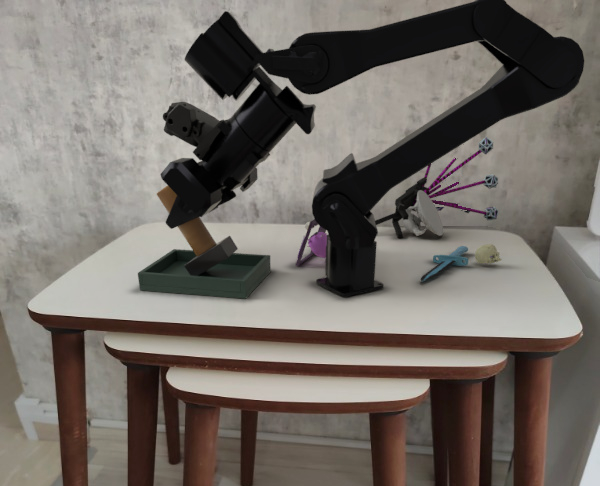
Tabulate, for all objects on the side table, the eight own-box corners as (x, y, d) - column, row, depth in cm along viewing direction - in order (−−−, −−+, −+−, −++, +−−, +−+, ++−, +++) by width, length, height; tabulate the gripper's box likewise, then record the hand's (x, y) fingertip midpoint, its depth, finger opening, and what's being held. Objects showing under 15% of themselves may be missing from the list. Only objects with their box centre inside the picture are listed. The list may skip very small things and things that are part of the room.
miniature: (426, 188, 101) (401, 203, 103) (413, 192, 94) (387, 207, 97) (447, 231, 102) (422, 245, 105) (436, 238, 95) (409, 252, 98)
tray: (270, 271, 84) (270, 255, 83) (246, 299, 74) (245, 280, 73) (175, 264, 87) (173, 248, 85) (139, 290, 77) (137, 272, 76)
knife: (403, 284, 79) (439, 289, 77) (403, 275, 79) (440, 279, 76) (448, 251, 92) (481, 254, 89) (448, 243, 91) (481, 246, 89)
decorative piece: (344, 266, 105) (448, 209, 120) (405, 276, 96) (511, 213, 110) (328, 181, 98) (442, 132, 113) (394, 182, 88) (509, 128, 103)
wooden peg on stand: (238, 248, 79) (190, 172, 76) (228, 257, 76) (177, 177, 72) (203, 269, 82) (155, 196, 78) (192, 278, 79) (142, 202, 75)
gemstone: (469, 260, 87) (472, 240, 86) (497, 261, 87) (501, 240, 85) (472, 267, 84) (475, 246, 83) (502, 267, 84) (505, 246, 83)
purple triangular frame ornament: (327, 206, 89) (305, 219, 82) (358, 220, 88) (339, 235, 81) (312, 247, 93) (290, 263, 86) (342, 261, 92) (323, 279, 85)
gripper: (230, 73, 76) (158, 163, 84) (169, 77, 60) (87, 187, 68) (291, 143, 78) (216, 224, 86) (247, 164, 63) (160, 261, 70)
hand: (173, 222), depth 78 cm, fingers closed on wooden peg on stand, 3 cm apart
